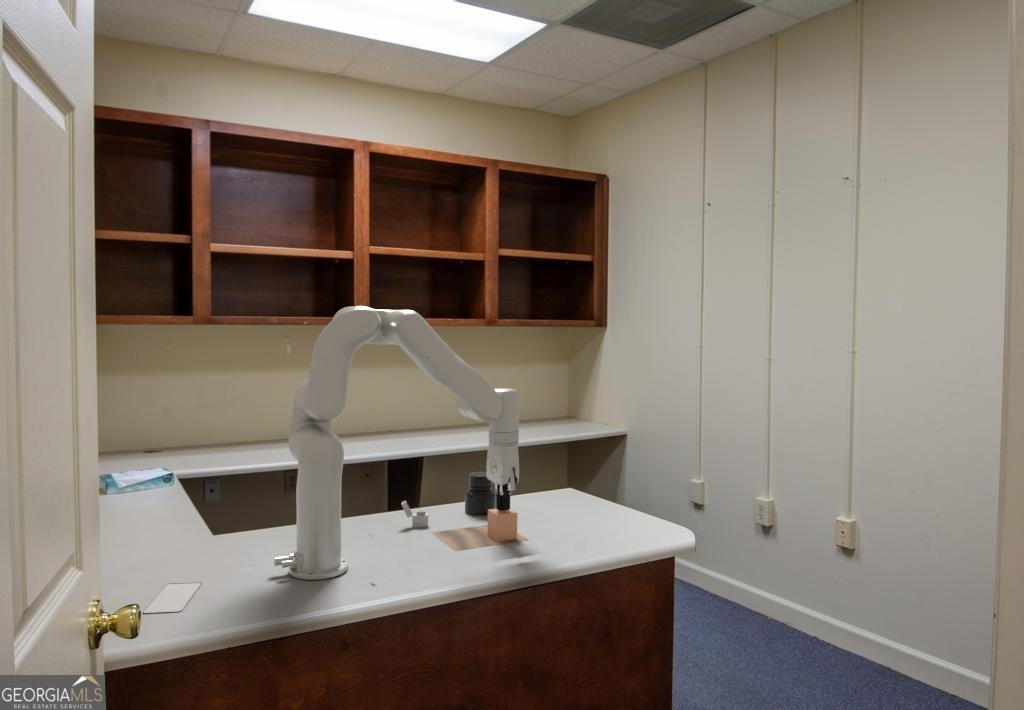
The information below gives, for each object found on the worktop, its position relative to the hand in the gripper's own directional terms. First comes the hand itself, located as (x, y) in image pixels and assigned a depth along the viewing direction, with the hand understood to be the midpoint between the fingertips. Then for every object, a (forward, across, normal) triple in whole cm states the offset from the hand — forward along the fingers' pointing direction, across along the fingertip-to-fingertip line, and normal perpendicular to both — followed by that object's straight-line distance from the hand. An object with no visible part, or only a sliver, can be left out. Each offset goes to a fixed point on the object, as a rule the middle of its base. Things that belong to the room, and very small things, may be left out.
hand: (503, 509), depth 176 cm
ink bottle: (+8, -24, +5) cm, 26 cm away
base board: (+8, -3, -5) cm, 10 cm away
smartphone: (+8, +4, -75) cm, 76 cm away
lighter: (+8, -18, -17) cm, 26 cm away
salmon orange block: (+7, 0, 0) cm, 7 cm away
